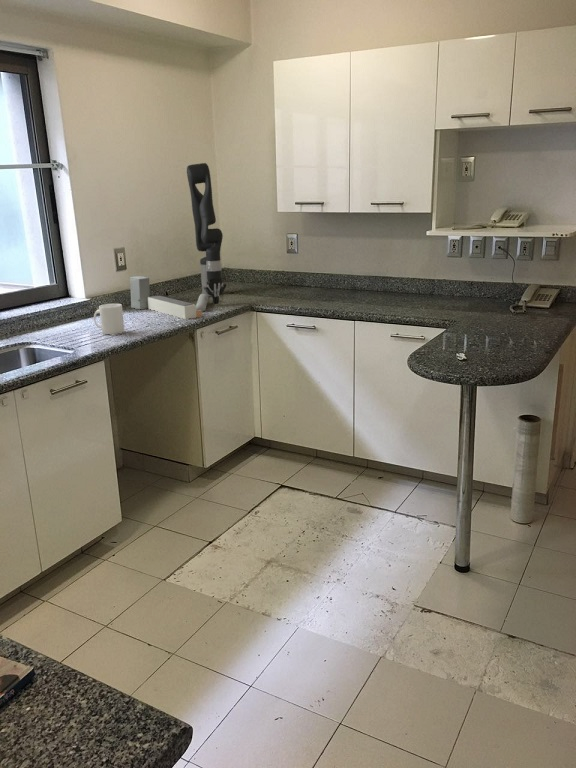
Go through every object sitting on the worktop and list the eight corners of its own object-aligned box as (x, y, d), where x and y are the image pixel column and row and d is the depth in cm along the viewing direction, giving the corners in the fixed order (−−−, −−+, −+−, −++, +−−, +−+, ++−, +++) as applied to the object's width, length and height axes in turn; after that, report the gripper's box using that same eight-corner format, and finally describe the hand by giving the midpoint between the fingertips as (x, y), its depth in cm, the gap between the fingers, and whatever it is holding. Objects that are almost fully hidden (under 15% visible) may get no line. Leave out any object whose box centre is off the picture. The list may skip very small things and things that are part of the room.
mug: (125, 333, 277) (122, 306, 273) (96, 336, 274) (92, 309, 270) (123, 329, 286) (121, 302, 282) (95, 331, 282) (92, 305, 279)
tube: (207, 304, 315) (209, 295, 339) (196, 301, 314) (199, 292, 338) (204, 315, 317) (207, 304, 340) (193, 312, 316) (197, 302, 340)
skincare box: (131, 308, 332) (127, 277, 327) (142, 306, 337) (139, 275, 332) (140, 310, 326) (137, 278, 322) (152, 307, 331) (149, 276, 326)
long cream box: (164, 306, 333) (163, 294, 331) (201, 316, 307) (201, 303, 305) (148, 309, 328) (147, 296, 326) (185, 319, 301) (184, 305, 300)
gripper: (220, 267, 333) (222, 301, 338) (198, 270, 325) (201, 304, 330) (229, 268, 327) (231, 302, 333) (206, 271, 320) (209, 306, 325)
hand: (216, 303), depth 332 cm, fingers closed
